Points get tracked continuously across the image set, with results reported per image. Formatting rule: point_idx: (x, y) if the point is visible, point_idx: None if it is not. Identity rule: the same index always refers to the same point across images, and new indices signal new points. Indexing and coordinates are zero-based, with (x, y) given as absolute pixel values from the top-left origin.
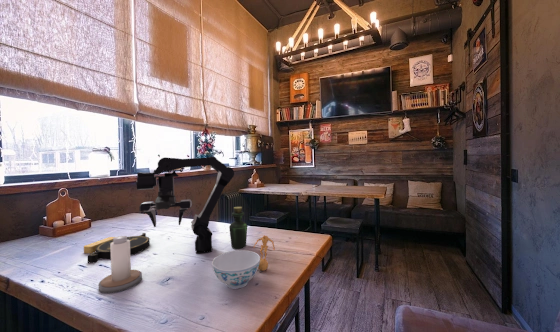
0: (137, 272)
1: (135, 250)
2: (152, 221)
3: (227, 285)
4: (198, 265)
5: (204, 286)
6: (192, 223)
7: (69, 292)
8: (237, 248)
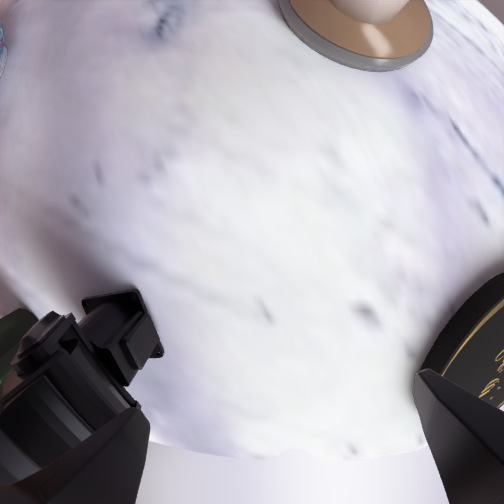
0: (316, 20)
1: (457, 326)
2: (480, 406)
3: (4, 46)
4: (80, 155)
5: (46, 27)
6: (74, 421)
7: (472, 12)
8: (22, 309)
